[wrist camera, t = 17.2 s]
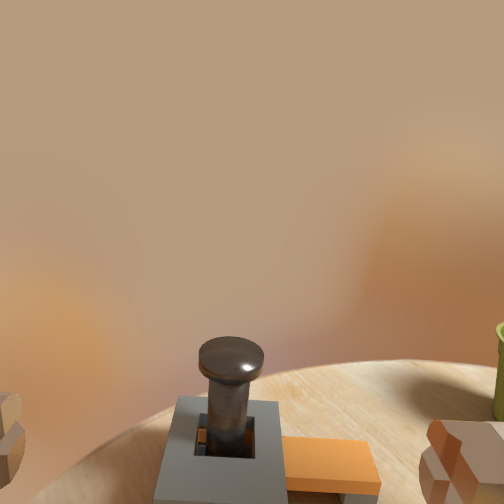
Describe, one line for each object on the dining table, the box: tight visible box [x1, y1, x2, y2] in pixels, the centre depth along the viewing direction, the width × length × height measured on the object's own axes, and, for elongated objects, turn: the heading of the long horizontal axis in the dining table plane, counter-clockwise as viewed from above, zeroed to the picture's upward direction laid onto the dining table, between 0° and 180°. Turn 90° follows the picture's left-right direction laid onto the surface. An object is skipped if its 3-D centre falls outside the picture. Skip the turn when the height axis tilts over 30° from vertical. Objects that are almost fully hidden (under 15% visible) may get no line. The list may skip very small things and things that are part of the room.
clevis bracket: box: [153, 396, 381, 504], centre depth 39 cm, size 19×12×6 cm, turn 90°
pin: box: [198, 336, 264, 458], centre depth 39 cm, size 6×6×14 cm
